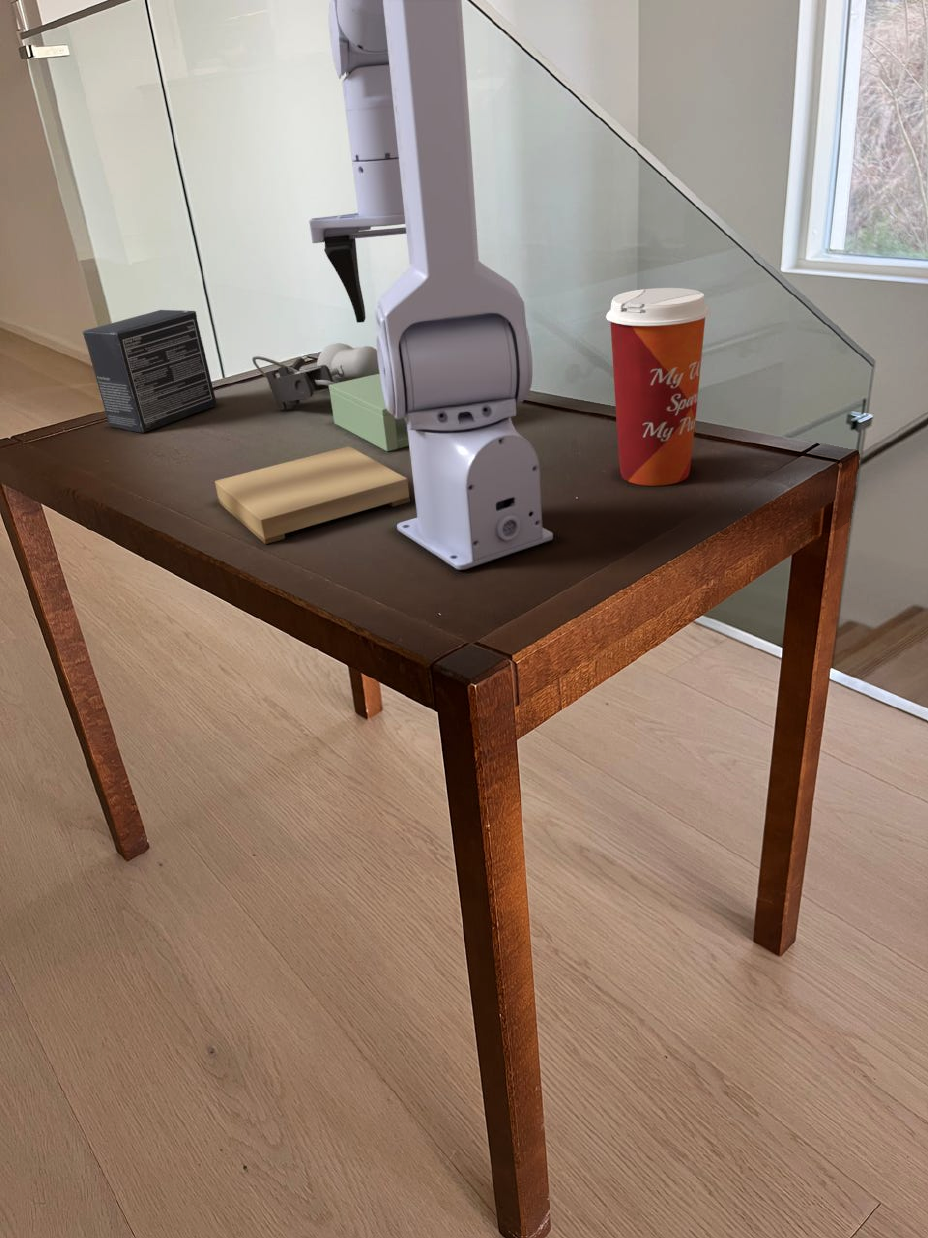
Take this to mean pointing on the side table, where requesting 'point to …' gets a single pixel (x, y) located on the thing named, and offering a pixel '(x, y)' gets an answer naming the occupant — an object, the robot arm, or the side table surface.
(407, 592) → the side table surface
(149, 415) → the small box
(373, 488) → the low shelf
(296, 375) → the clip-on lamp
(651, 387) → the paper cup
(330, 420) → the side table surface
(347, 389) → the shelf stand
